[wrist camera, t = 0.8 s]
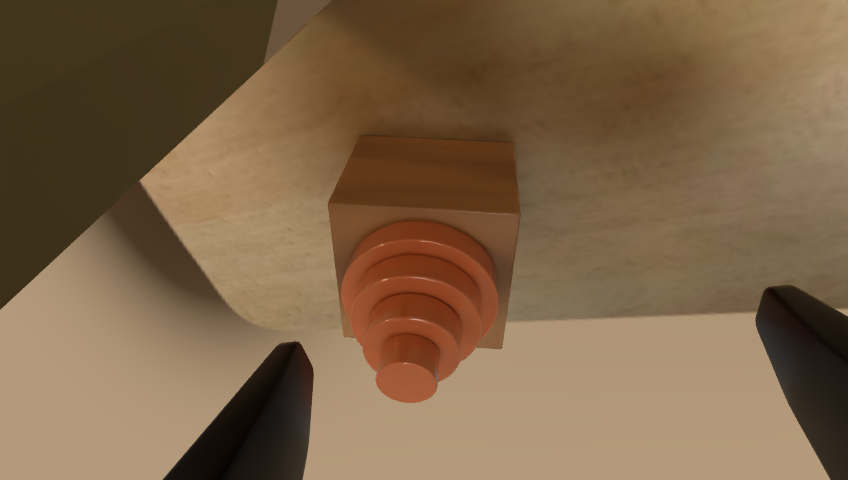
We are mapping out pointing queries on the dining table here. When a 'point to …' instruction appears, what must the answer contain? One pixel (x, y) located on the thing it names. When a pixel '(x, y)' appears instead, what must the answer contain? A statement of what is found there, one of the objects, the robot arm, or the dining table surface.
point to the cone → (418, 304)
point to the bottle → (111, 103)
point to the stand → (430, 201)
